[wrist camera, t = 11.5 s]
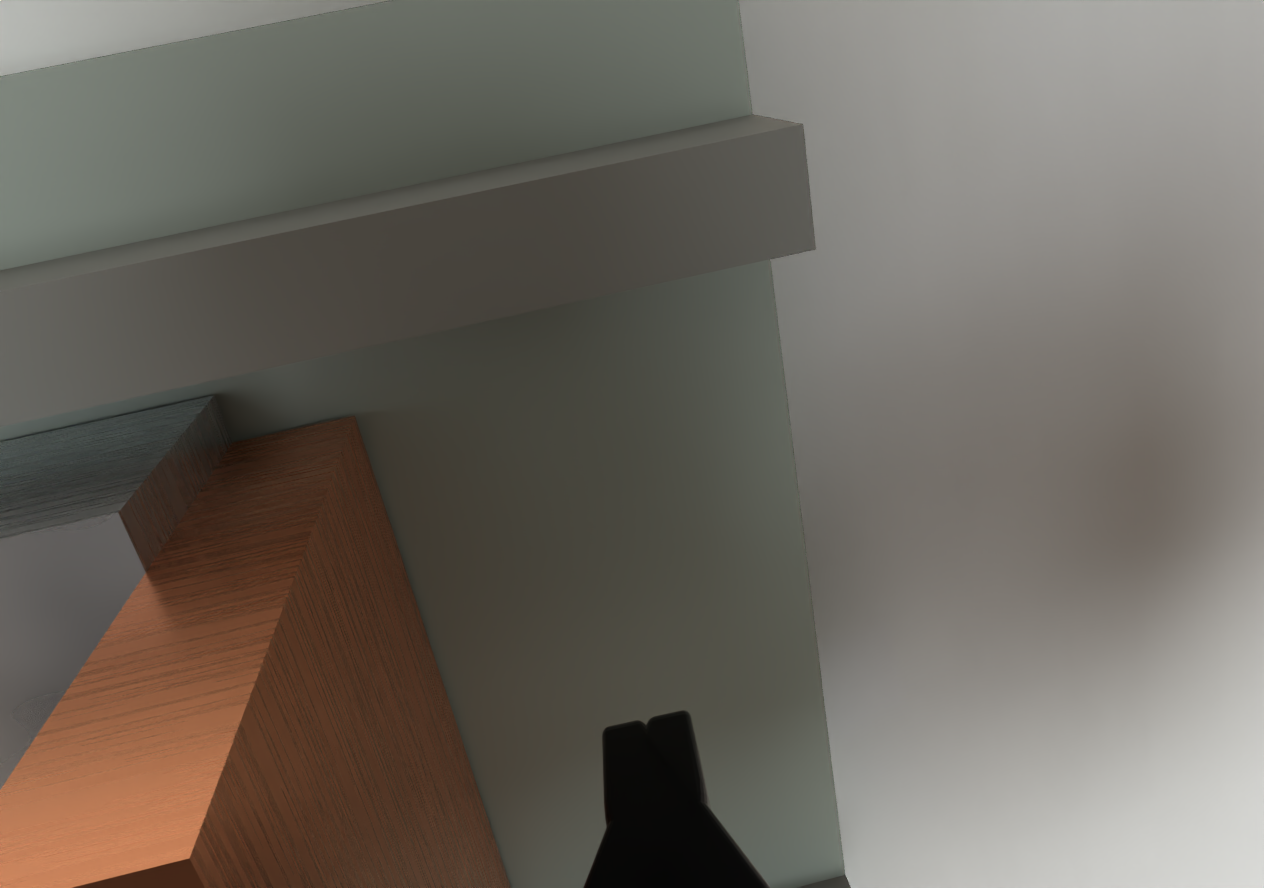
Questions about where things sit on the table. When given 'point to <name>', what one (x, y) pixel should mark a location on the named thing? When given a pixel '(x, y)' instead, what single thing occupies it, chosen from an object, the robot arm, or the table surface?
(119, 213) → the grey fixture base
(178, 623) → the ram
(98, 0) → the table surface
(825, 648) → the table surface
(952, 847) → the table surface
